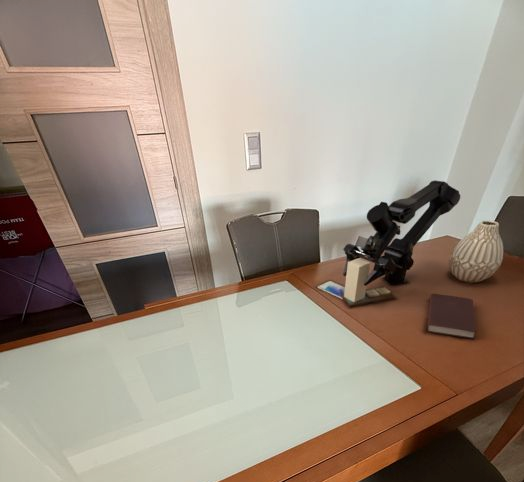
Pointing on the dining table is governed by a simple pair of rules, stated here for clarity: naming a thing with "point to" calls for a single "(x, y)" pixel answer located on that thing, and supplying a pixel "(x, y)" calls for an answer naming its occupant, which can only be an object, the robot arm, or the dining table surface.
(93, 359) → the dining table surface
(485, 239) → the vase
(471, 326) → the book
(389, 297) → the word board
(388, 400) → the dining table surface
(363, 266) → the letter I
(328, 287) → the smartphone
